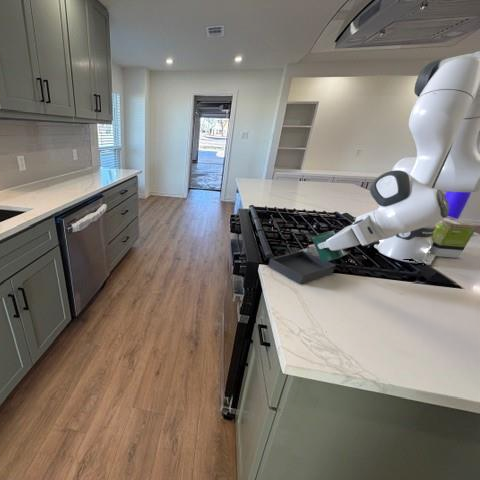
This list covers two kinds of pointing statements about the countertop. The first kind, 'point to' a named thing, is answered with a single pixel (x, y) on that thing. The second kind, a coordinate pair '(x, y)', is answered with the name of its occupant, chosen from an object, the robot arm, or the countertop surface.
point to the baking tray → (301, 266)
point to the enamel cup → (326, 252)
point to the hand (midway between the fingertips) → (323, 243)
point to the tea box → (451, 237)
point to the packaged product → (312, 250)
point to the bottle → (456, 202)
